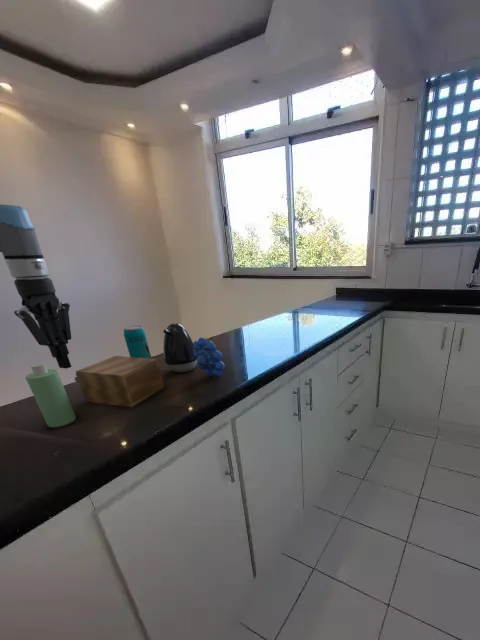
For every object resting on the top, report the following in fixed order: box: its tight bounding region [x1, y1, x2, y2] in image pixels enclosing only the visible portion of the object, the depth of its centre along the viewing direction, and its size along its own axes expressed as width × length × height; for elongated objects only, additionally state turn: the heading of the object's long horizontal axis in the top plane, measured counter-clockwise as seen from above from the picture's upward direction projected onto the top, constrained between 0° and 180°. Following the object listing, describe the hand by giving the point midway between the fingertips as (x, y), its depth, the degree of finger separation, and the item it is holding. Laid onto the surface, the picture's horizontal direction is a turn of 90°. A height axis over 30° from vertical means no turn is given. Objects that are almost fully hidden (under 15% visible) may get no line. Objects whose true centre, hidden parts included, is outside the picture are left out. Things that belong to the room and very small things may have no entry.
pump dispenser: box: [162, 322, 198, 374], centre depth 98 cm, size 10×10×15 cm
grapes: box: [193, 337, 226, 378], centre depth 92 cm, size 12×7×12 cm, turn 61°
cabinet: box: [75, 355, 165, 408], centre depth 83 cm, size 15×13×9 cm
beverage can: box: [123, 325, 153, 359], centre depth 96 cm, size 6×6×15 cm
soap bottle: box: [24, 362, 77, 428], centre depth 70 cm, size 6×6×14 cm
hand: (65, 367), depth 87 cm, fingers closed
